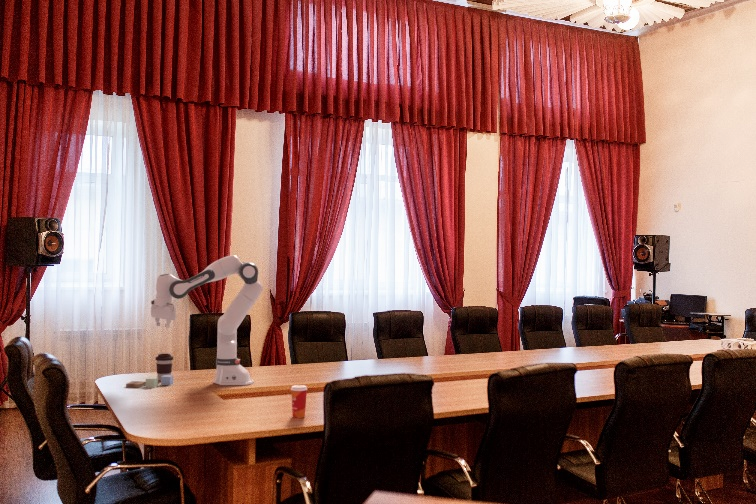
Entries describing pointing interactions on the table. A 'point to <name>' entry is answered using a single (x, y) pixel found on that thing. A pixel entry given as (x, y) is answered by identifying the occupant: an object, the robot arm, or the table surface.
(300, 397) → the paper cup
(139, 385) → the baseplate
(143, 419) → the table surface
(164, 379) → the blue block
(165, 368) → the coffee cup
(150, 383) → the green block
